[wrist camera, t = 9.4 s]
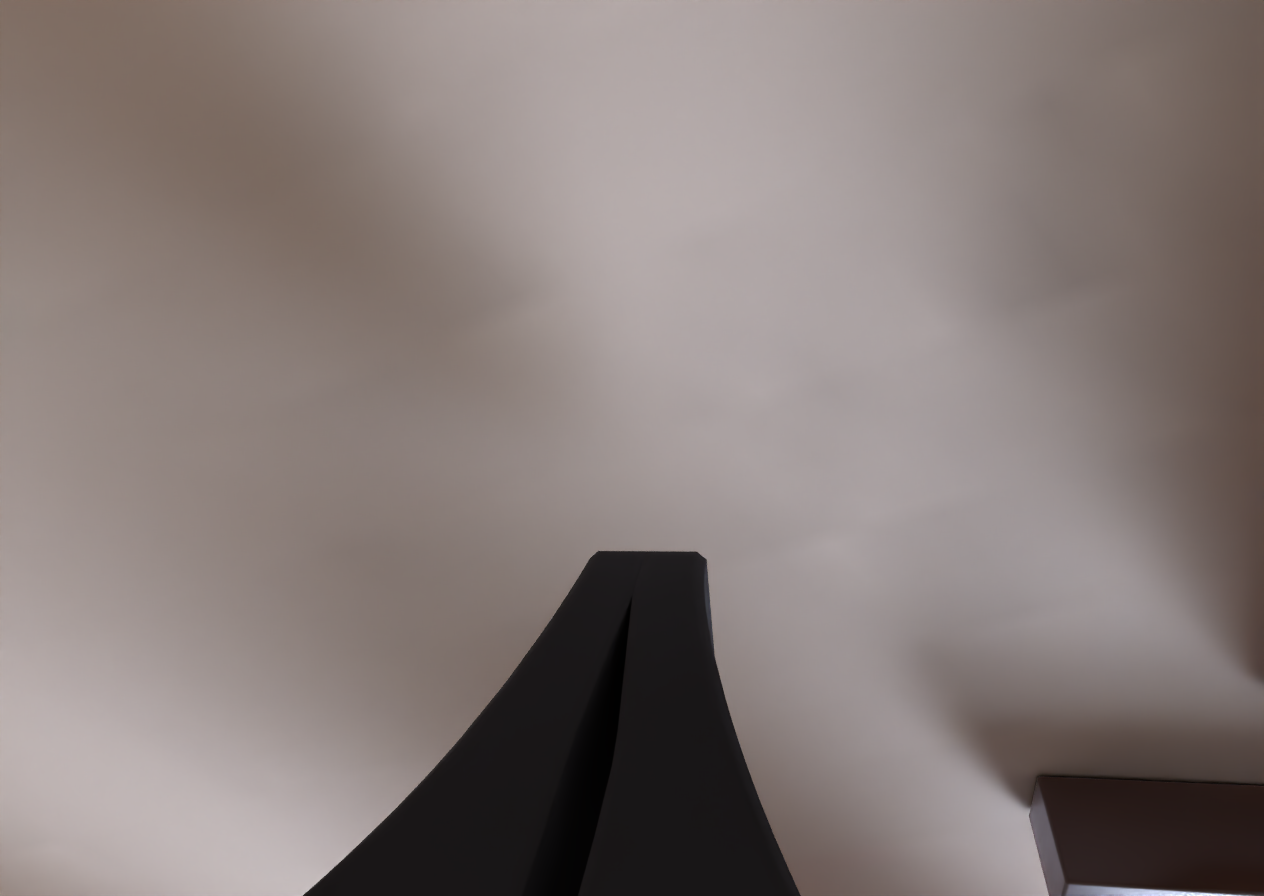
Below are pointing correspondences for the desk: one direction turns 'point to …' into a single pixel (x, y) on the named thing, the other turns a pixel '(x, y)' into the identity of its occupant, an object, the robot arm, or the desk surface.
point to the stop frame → (1148, 837)
